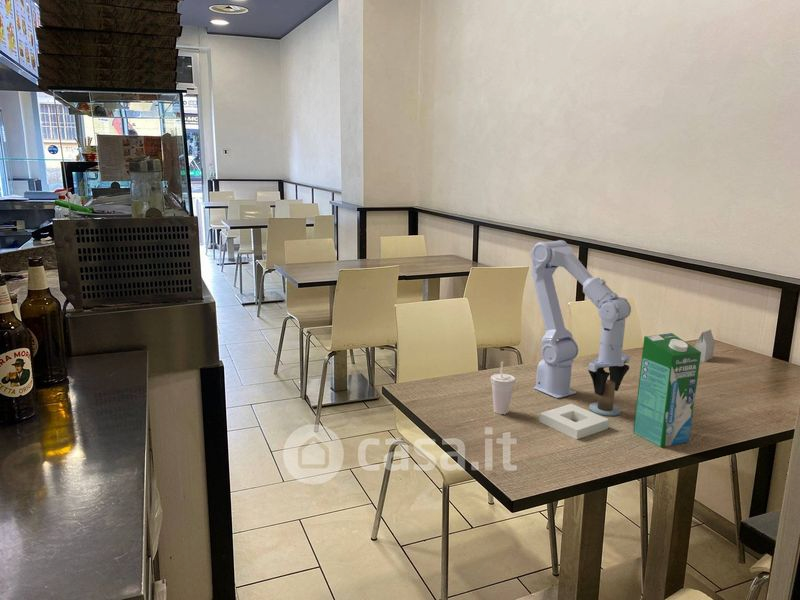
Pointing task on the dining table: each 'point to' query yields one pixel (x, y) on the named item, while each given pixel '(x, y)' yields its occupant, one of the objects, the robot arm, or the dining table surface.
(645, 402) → the milk carton
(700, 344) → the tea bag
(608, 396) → the walnut dowel
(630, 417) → the dining table surface
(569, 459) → the dining table surface
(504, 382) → the smoothie
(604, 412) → the coaster
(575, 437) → the holder block
